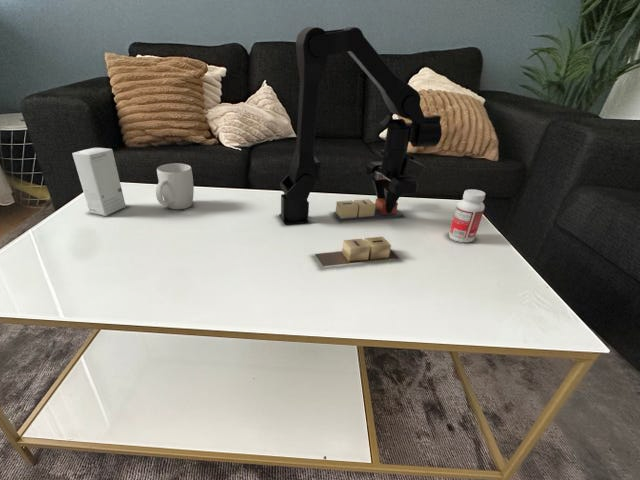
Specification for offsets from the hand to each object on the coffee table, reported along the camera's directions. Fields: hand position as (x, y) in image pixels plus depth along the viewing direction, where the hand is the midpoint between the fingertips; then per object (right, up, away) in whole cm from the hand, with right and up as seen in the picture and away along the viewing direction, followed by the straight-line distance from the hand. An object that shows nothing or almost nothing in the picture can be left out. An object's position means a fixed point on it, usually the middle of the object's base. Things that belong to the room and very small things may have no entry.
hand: (385, 209), depth 112 cm
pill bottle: (+16, -11, -11) cm, 23 cm away
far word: (-5, -2, 0) cm, 5 cm away
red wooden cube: (0, 0, 0) cm, 1 cm away
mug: (-58, +1, +1) cm, 58 cm away
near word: (-11, -19, -20) cm, 30 cm away
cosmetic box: (-76, -1, -1) cm, 76 cm away
